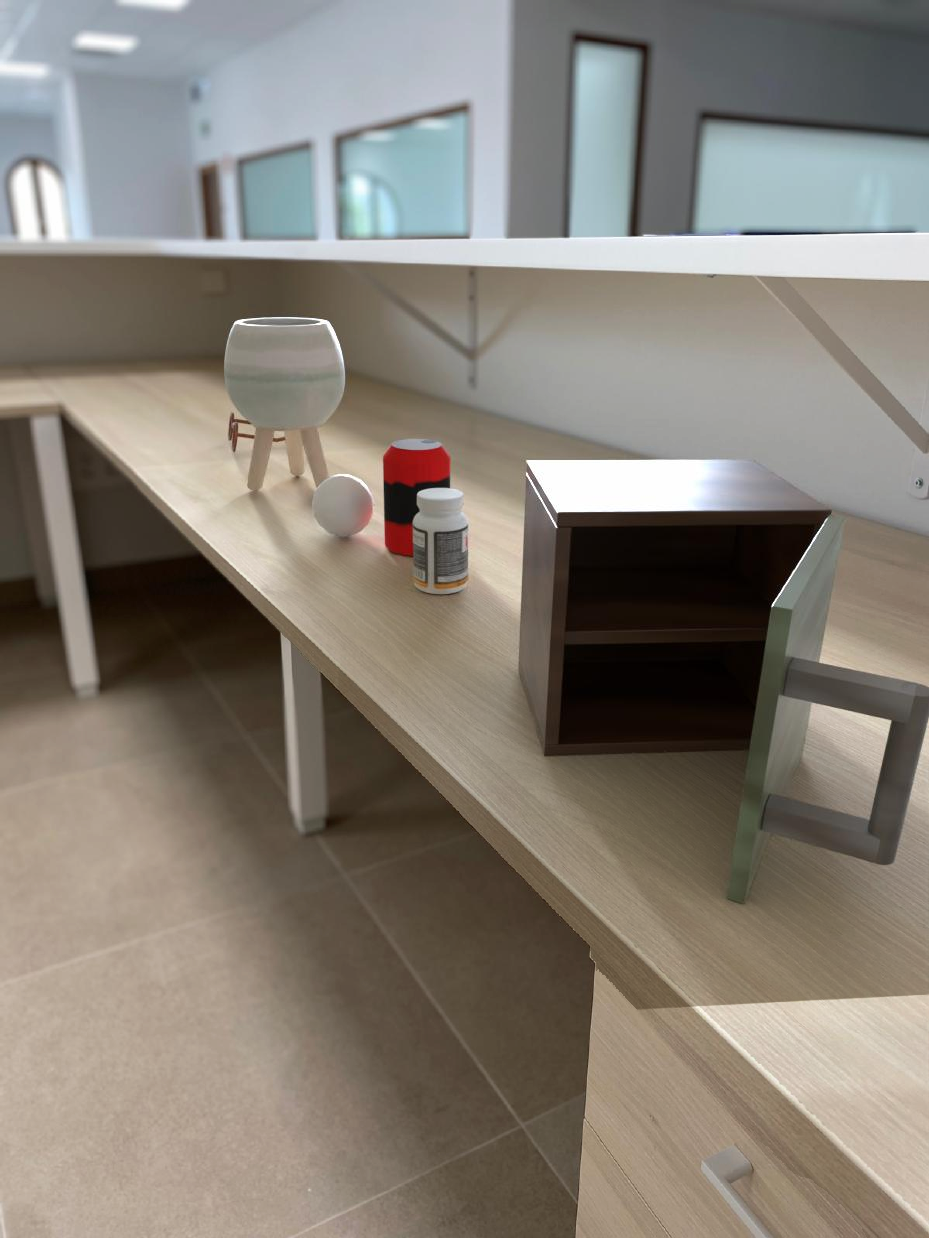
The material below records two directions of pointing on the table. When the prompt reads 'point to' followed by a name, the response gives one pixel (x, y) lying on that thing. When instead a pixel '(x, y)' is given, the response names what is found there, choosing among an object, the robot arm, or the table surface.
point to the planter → (285, 387)
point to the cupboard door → (784, 721)
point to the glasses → (234, 431)
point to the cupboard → (653, 599)
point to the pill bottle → (440, 542)
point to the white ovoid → (343, 505)
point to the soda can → (410, 486)
